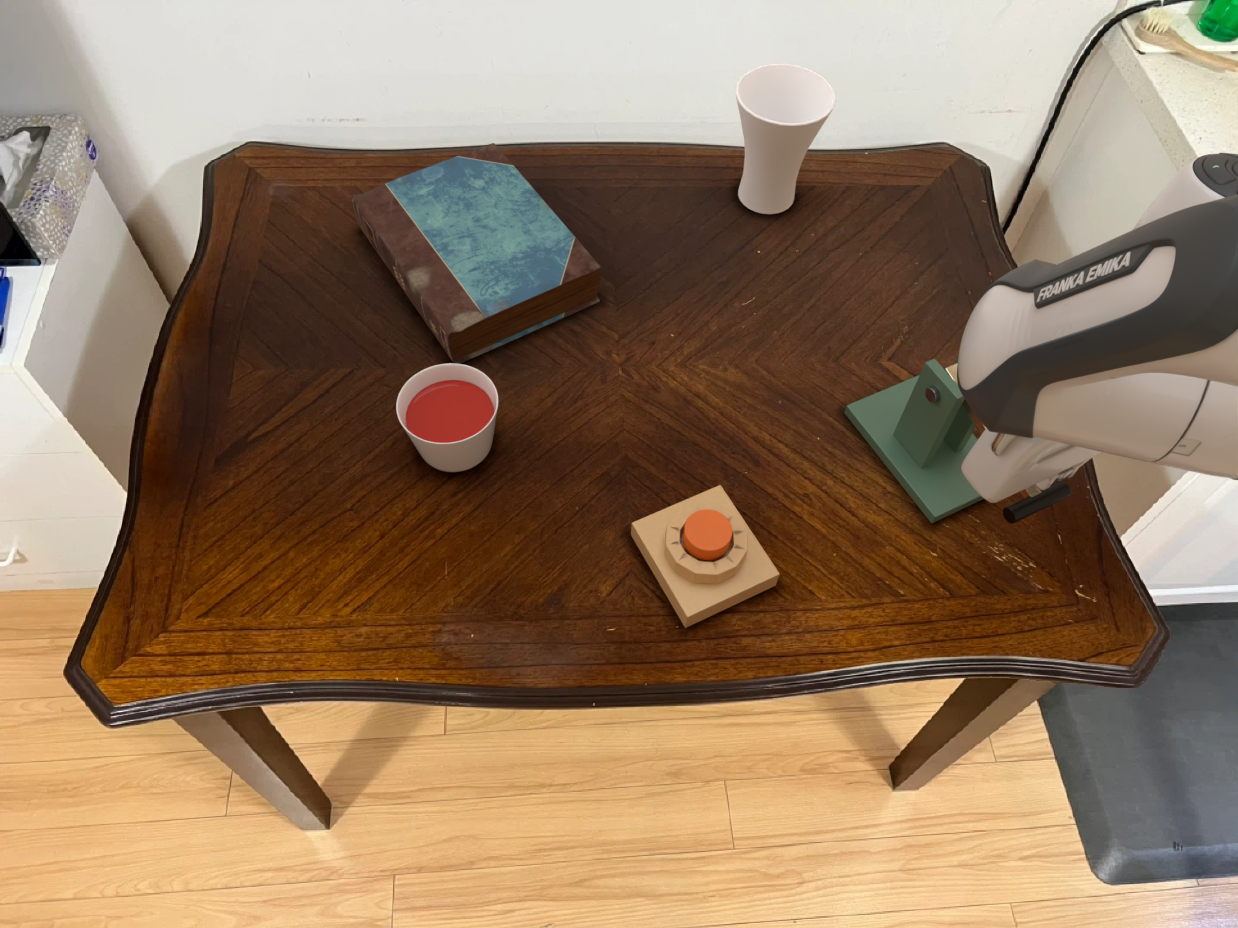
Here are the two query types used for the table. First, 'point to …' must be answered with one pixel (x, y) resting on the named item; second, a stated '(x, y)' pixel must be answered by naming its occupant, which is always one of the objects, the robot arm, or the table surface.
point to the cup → (778, 130)
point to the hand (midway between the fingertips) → (1049, 477)
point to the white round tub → (449, 415)
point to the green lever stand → (922, 438)
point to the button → (707, 534)
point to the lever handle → (1032, 494)
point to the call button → (703, 582)
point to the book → (477, 251)
